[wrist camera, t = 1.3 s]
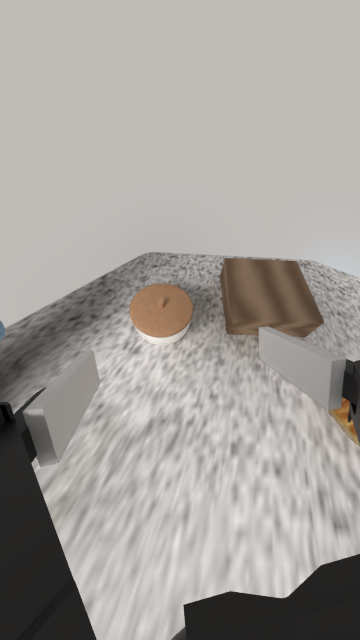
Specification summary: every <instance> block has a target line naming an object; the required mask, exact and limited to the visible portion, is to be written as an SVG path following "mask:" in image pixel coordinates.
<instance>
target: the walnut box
mask: <svg viewBox="0 0 360 640" xmlns="http://www.w3.org/2000/svg"><path fill="white" fill-rule="evenodd" d="M220 281H221V289H222V298H223V306H224V314H225V322H226V330H227V334H239V335H259V327H266V326H268V327H270V328H273V329H275V330H278V331H280V332H282V333H285V334H287V335H290V336H295V337H306V336H307V335H308V334H310V333H311V332H312V331H314V330H315V329H316V328H317V327H319V326H320V325H321V324H323V323H324V321H323V319H322V316H321V314H320V312H319V310H318V308H317V305H316V303H315V301H314V299H313V296H312V294H311V292H310V290H309V288H308V285H307V283H306V281H305V279H304V276H303V274H302V272H301V270H300V268H299V265H298V263H297V261H278V260H254V259H231V258H225V261H224V264H223V268H222V271H221V275H220Z"/></svg>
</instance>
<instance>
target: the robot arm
mask: <svg viewBox="0 0 360 640" xmlns="http://www.w3.org/2000/svg"><path fill="white" fill-rule="evenodd" d="M4 333H5V328H4V325H3V323H2V322H1V321H0V340H1V339H2V338H3V336H4ZM259 359H260V360H261V361H263V362H264V363H265V364H267V365H268V366H269V367H271V368H272V369H273V370H275V371H276V372H277V373H279V374H280V375H281V376H283V377H284V378H285V379H287V380H288V381H289V382H291V383H292V384H293V385H295V386H296V387H297V388H299V389H300V390H301V391H303V392H304V393H305V394H307V395H308V396H309V397H311V398H312V399H313V400H315V401H316V402H317V403H318V404H320V405H321V406H322V407H324V408H325V409H326V410H328V411H329V410H334V409H339V408H341V406H342V397H343V398H345V399H346V400H348V401H350V404H349V413H348V422H351V420H352V421H353V424H354V428H355V431H356V435H357V438H358V441H359V445H360V360H358V361H355V362H352V361H350V360H348V359H346V358H343V357H341V356H338V355H336V354H333V353H331V352H329V351H326V350H324V349H321V348H319V347H316V346H314V345H312V344H309V343H307V342H304V341H302V340H299V339H297V338H295V337H292V336H290V335H287V334H285V333H282V332H280V331H278V330H275V329H273V328H270V327H268V326H266V327H259ZM99 385H100V380H99V376H98V371H97V366H96V361H95V357H94V352H93V350H91V351H84V352H82V353H81V354H80V355H79V356H78V357H77V358H76V359H75V360H74V361H73V362H72V363H71V364H70V365H69V366H68V367H67V368H66V369H65V370H64V371H63V372H62V373H61V374H60V375H59V376H58V377H57V378H56V379H55V380H54V381H53V382H52V383H51V384H50V385H49V386H48V387H46V388H43V389H42V390H40V391H39V392H37V393H36V394H35V395H33V396H32V397H31V398H30V399H29V401H27V402H26V403H25V404H24V406H22V407H21V408H20V409H19V410H18V411H17V412H16V413H15V414H14V415H13V412H12V409H11V406H10V404H9V403H8V402H0V640H96V637H95V634H94V631H93V629H92V626H91V623H90V621H89V618H88V615H87V612H86V610H85V607H84V604H83V602H82V599H81V596H80V594H79V591H78V588H77V586H76V583H75V581H74V579H73V577H72V574H71V571H70V568H69V566H68V563H67V560H66V557H65V555H64V552H63V549H62V546H61V544H60V541H59V538H58V536H57V533H56V530H55V527H54V525H53V522H52V519H51V516H50V514H49V511H48V508H47V505H46V503H45V500H44V497H43V494H42V492H41V489H40V486H39V483H38V481H37V478H36V475H35V473H34V470H33V467H32V464H31V463H32V461H33V460H34V458H35V457H36V456H37V459H38V462H39V465H40V466H46V465H51V464H56V463H59V461H60V459H61V457H62V455H63V454H64V452H65V450H66V448H67V446H68V444H69V442H70V440H71V438H72V436H73V434H74V433H75V431H76V429H77V427H78V425H79V423H80V421H81V419H82V417H83V415H84V413H85V411H86V410H87V408H88V406H89V404H90V402H91V400H92V398H93V396H94V394H95V392H96V390H97V389H98V387H99ZM184 616H185V627H184V628H183V629H182V630H181V631H180V632H179V633H177V634H176V635H175V636H174V637H173V638H172V640H360V554H358V555H355V556H351V557H348V558H344V559H341V560H338V561H334V562H331V563H327V564H324V565H321V566H320V567H319V568H318V569H317V570H315V571H314V572H313V573H312V574H311V575H310V576H309V577H308V578H307V579H306V580H305V581H304V582H303V583H302V584H301V585H300V586H299V587H298V588H297V589H296V590H295V591H294V592H293V593H291V594H290V595H289V596H288V597H286V598H274V597H267V596H260V595H253V594H246V593H239V592H231V591H230V592H227V593H223V594H220V595H216V596H213V597H209V598H206V599H202V600H199V601H195V602H192V603H188V604H185V605H184Z"/></svg>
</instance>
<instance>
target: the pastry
mask: <svg viewBox="0 0 360 640" xmlns="http://www.w3.org/2000/svg"><path fill="white" fill-rule="evenodd" d="M349 404H350V401H348V400H346V399H345V398H343V397H342V406H341V408H339V409H334V410H329V413H330V415H331V416H332V417H333V418H334V419H335V421H336V422H337V423H338V424H339V426H340V427H341V428H342V430H343V431H344V432H345V433H346V434H347V435H348V437H349V438H350V439H351V440H352V441H353V442H354V443H356V444H357V445H358V446H360V445H359V441H358V438H357V435H356V431H355V428H354V424H353V421H352V420H351V422H348V413H349Z"/></svg>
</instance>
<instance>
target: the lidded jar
mask: <svg viewBox="0 0 360 640" xmlns="http://www.w3.org/2000/svg"><path fill="white" fill-rule="evenodd" d="M129 312H130V317H131V320H132V322H133V324H134V326H135V328H136V330H137V331H138V333H139V334H140V335H141V336H142V337H143V338H144V339H145V340H146V341H148V342H150V343H152V344H155V345H169V344H172V343H174V342H176V341H178V340H179V339H180V338H182V337H183V335H184V334H185V333H186V331H187V329H188V327H189V325H190V322H191V318H192V314H193V304H192V301H191V299H190V297H189V296H188V294H187V293H186V292H185V291H183V290H182V289H181V288H179V287H177V286H174V285H171V284H154V285H150V286H147V287H145V288H143V289H142V290H140V291H139V292H138V293H137V294H136V295H135V296H134V297H133V299H132V301H131V304H130V308H129Z"/></svg>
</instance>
